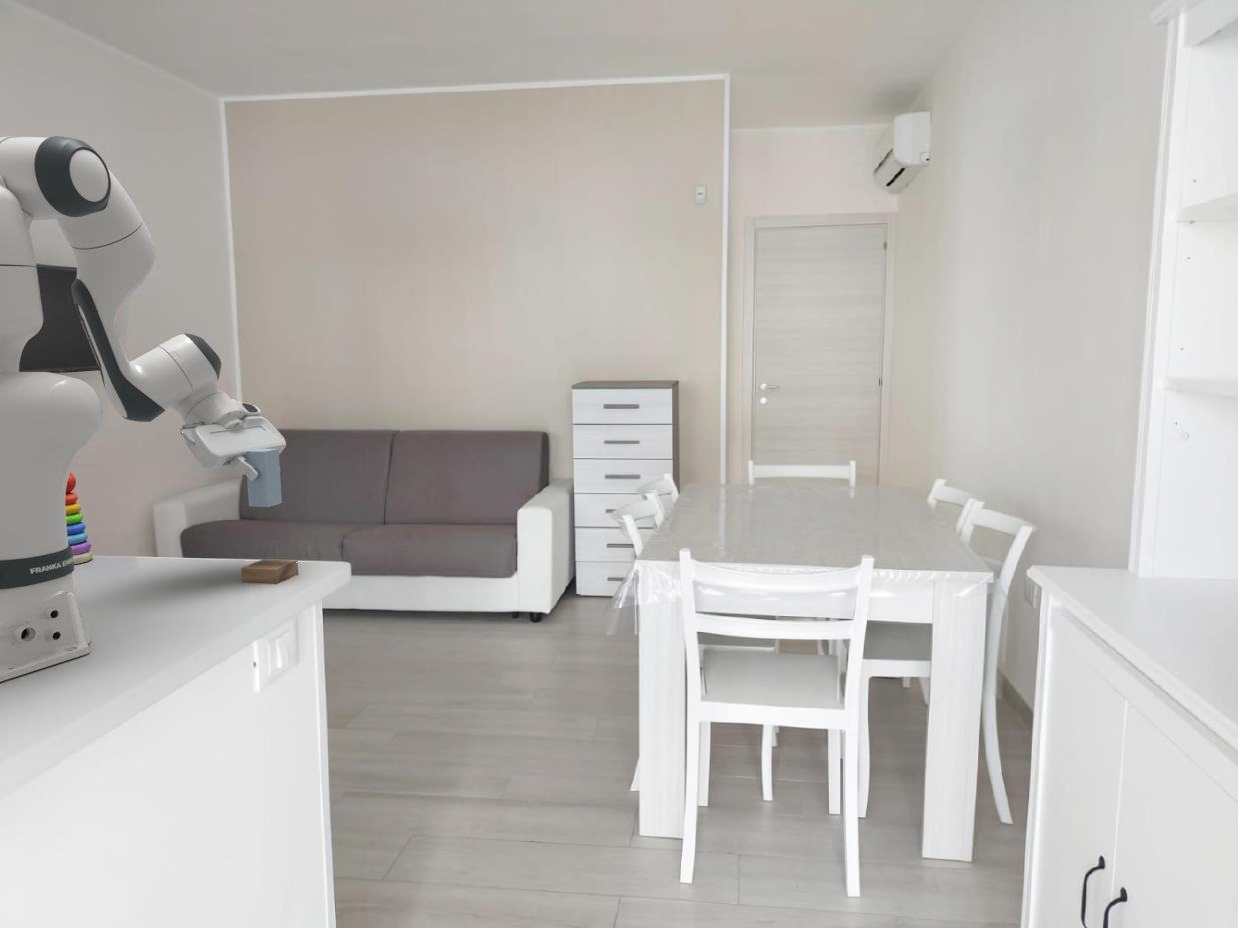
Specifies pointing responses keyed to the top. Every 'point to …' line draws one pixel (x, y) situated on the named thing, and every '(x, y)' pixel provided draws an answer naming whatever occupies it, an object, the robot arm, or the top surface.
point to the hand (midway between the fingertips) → (266, 475)
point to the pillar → (264, 478)
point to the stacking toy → (76, 525)
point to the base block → (269, 571)
